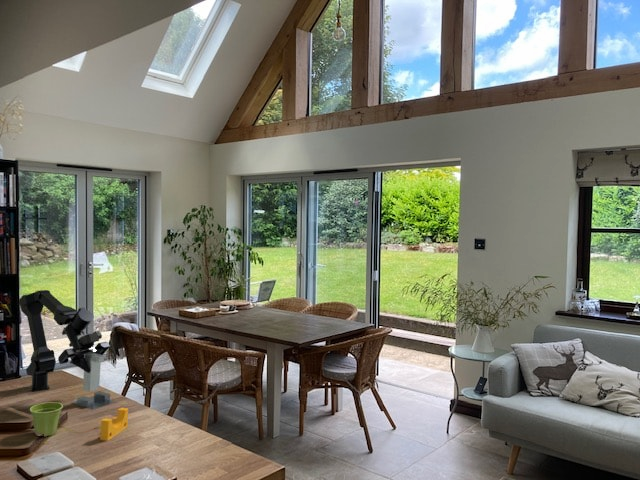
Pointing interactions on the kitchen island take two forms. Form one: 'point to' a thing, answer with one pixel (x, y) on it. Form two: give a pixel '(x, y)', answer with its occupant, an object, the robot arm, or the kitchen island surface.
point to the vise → (94, 400)
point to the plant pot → (46, 417)
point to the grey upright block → (92, 371)
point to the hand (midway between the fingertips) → (94, 371)
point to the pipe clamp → (114, 424)
